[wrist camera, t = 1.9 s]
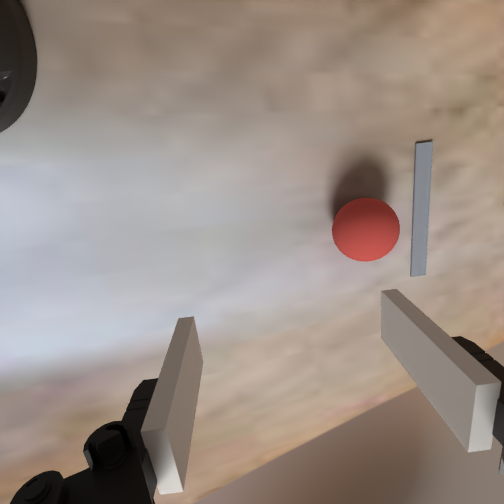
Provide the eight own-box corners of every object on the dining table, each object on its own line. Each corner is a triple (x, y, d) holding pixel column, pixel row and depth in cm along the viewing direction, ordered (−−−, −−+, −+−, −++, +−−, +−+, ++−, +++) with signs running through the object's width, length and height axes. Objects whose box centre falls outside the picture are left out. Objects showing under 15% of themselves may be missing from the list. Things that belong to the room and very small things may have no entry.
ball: (323, 197, 32) (342, 208, 26) (382, 189, 32) (414, 199, 26) (326, 253, 34) (344, 275, 28) (381, 246, 34) (411, 266, 28)
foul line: (415, 143, 30) (416, 143, 30) (431, 141, 30) (433, 141, 30) (410, 276, 35) (411, 276, 35) (424, 274, 35) (425, 275, 35)
